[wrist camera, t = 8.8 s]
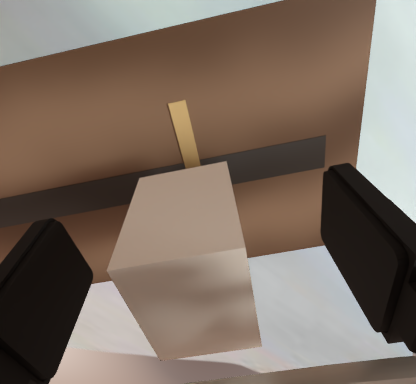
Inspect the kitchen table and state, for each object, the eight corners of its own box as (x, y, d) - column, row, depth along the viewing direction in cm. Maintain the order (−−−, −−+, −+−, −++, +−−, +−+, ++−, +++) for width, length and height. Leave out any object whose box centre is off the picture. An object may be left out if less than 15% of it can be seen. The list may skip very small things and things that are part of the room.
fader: (150, 147, 11) (106, 270, 6) (220, 133, 11) (245, 247, 6) (174, 219, 13) (160, 360, 8) (234, 209, 13) (261, 346, 8)
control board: (-162, 104, 13) (-250, 125, 10) (338, -13, 11) (380, -22, 9) (-8, 268, 20) (-39, 306, 17) (325, 210, 18) (347, 242, 15)
